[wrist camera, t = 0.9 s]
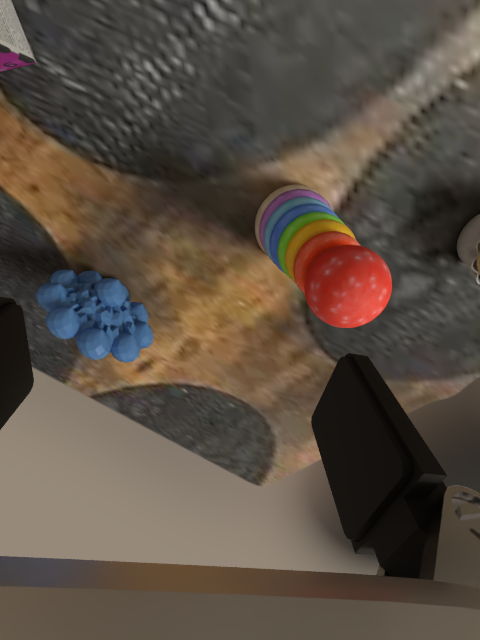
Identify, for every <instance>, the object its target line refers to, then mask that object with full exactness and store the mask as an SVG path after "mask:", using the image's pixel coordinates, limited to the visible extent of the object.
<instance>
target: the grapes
mask: <svg viewBox="0 0 480 640" xmlns="http://www.w3.org/2000/svg"><path fill="white" fill-rule="evenodd" d="M36 299H37V302H38V304H39V305H40V306H41V308H43V309H44V310H45V311H47V312H48V314H47V316H46V319H45V320H46V325H47V328H48V329H49V331H50V332H51V333H52V334H53V335H55V336H56V337H58V338H62V339H69V338H74V337H76V336H77V335H78V337H77V339H76V342H77V347H78V349H79V350H80V352H81V353H82V354H83V355H84V356H86V357H87V358H89V359H94V360H97V359H102V358H104V357H105V356H106V355H108V354H109V353H110V352H111V354H112V355H113V357H114V358H116V359H117V360H119V361H121V362H131V361H134V360H135V359H136V358H137V357H138V356H139V352H140V349H142V348H147V347H149V346H150V345H151V344H152V342H153V338H154V337H153V332H152V330H151V328H150V326H149V325H148V324H147V322H148V318H149V317H148V312H147V310H146V308H145V306H144V305H143V304H142V303H138V302H131V303H130V302H129V301H130V296H129V292H128V290H127V289H126V287H125V286H124V285H123V284H121V282H120V281H119V280H118V279H114V278H105V279H102V277H101V276H100V274H99V273H98V272H97V271H84V272H82V273H80V274H79V275H78V276H77V275H76V274H75V273H74V272H73V271H72V270H65V269H64V270H58V271H56V272H54V273H53V274H52V276H51V278H50V283H47V284H44V285H42V286H40V287H39V288H38V290H37V292H36Z"/></svg>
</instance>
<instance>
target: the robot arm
mask: <svg viewBox="0 0 480 640" xmlns="http://www.w3.org/2000/svg"><path fill="white" fill-rule="evenodd" d="M33 382H34V378H33V372H32V365H31V359H30V353H29V347H28V340H27V334H26V328H25V321H24V315H23V310H22V307H21V306H19V305H17V304H16V302H15V301H14V300H13V299H11V298H4V297H0V430H1V428H2V427H3V426H4V424H5V423H6V422H7V421H8V419H9V418H10V417H11V416H12V414H13V413H14V412H15V410H16V409H17V408H18V407H19V405H20V404H21V403H22V402H23V400H24V399H25V398H26V396H27V395H28V394H29V392H30V391H31V389H32V387H33ZM311 423H312V428H313V432H314V435H315V438H316V442H317V445H318V448H319V452H320V455H321V458H322V461H323V465H324V468H325V471H326V475H327V478H328V481H329V484H330V488H331V491H332V494H333V498H334V501H335V504H336V508H337V511H338V514H339V517H340V521H341V524H342V527H343V531H344V533H345V535H346V537H347V538H348V539H351V542H352V545H353V548H354V551H355V553H357V554H372V555H374V554H376V556H377V559H378V562H379V564H380V565H379V568H378V572H377V575H362V574H348V573H330V572H311V571H293V570H275V569H255V568H237V567H217V566H198V565H178V564H157V563H137V562H115V561H94V560H75V559H74V560H73V559H53V558H52V559H51V558H29V557H8V556H0V640H480V494H479V493H477V492H475V491H474V490H472V489H469V488H466V487H463V486H451V487H449V488H446V486H445V485H444V483H443V480H444V479H445V478H446V477H447V475H446V473H445V472H444V470H443V469H442V467H441V466H440V464H439V463H438V461H437V460H436V458H435V457H434V455H433V454H432V452H431V451H430V449H429V448H428V446H427V445H426V443H425V442H424V440H423V439H422V437H421V436H420V434H419V433H418V431H417V430H416V428H415V427H414V425H413V424H412V422H411V421H410V419H409V418H408V416H407V415H406V413H405V411H404V410H403V408H402V407H401V405H400V404H399V402H398V401H397V399H396V398H395V396H394V395H393V393H392V392H391V390H390V389H389V387H388V386H387V384H386V383H385V381H384V380H383V378H382V377H381V375H380V374H379V372H378V371H377V369H376V368H375V366H374V365H373V363H372V362H371V360H370V359H369V358H368V357H367V356H363V355H357V354H351V353H349V354H347V355H346V356H345V357H341V358H340V359H339V361H338V363H337V365H336V367H335V369H334V371H333V373H332V376H331V378H330V380H329V382H328V384H327V386H326V388H325V390H324V392H323V394H322V396H321V398H320V401H319V403H318V405H317V407H316V409H315V411H314V413H313V415H312V421H311Z"/></svg>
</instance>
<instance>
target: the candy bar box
mask: <svg viewBox="0 0 480 640" xmlns="http://www.w3.org/2000/svg"><path fill="white" fill-rule="evenodd" d="M35 63H36V60H35V57H34V54H33V52H32V49H31V46H30V44H29V42H28V40H27V38H26V36H25V34H24V31H23V29H22V26H21V24H20V21H19V18H18V16H17V13H16V11H15V8H14V5H13V3H12V1H11V0H0V72H3V71H7V70H11V69H15V68H19V67H22V66H27V65H31V64H35Z"/></svg>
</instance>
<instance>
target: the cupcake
mask: <svg viewBox="0 0 480 640" xmlns="http://www.w3.org/2000/svg"><path fill="white" fill-rule="evenodd" d="M457 252H458V256H459V257H460V259H461V260H462V261H463V262H464V263H465V264H466V265H467V267H468V268H469V269H470V270H471V271H472V273H473V275H474V277H475V279H476V281H477V283H478V284H480V214H478V215H476V216H475V217H474V218H472V219H471V220H470V221H469V222H468V223H467V224H466V225H465V226H464V228H463V229H462V231H461V233H460V235H459V237H458V240H457Z"/></svg>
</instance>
